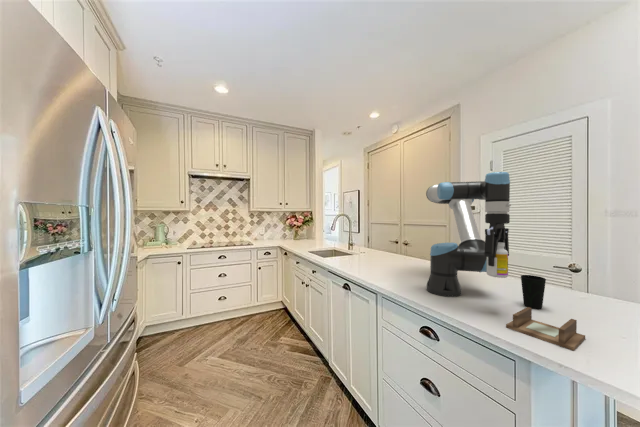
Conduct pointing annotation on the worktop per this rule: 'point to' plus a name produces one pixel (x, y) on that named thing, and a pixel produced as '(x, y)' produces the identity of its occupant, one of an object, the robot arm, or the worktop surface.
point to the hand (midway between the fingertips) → (497, 273)
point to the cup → (533, 291)
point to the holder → (547, 330)
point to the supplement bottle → (501, 261)
